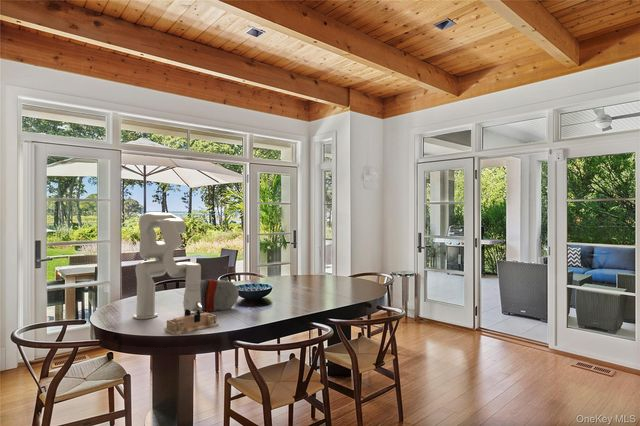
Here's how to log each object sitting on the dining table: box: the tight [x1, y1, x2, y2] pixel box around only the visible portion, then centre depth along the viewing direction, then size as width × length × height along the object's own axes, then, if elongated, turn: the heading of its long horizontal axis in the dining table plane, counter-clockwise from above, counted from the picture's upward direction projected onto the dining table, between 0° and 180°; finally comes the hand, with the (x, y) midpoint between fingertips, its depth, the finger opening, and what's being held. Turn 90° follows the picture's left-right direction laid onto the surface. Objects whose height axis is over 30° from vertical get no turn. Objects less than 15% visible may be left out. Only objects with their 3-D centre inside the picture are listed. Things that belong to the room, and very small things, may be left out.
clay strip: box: [173, 312, 210, 328], centre depth 204 cm, size 18×4×5 cm, turn 137°
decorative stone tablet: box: [192, 278, 240, 313], centre depth 241 cm, size 19×6×30 cm
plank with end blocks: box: [164, 312, 220, 336], centre depth 204 cm, size 24×12×5 cm, turn 137°
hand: (192, 320), depth 204 cm, fingers open, 9 cm apart
